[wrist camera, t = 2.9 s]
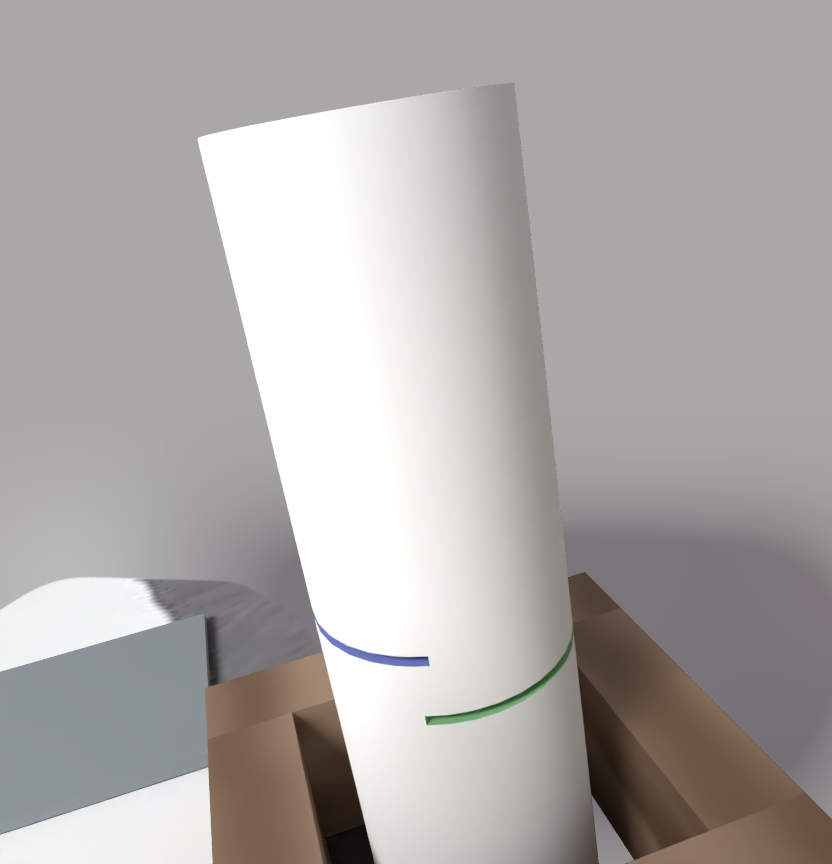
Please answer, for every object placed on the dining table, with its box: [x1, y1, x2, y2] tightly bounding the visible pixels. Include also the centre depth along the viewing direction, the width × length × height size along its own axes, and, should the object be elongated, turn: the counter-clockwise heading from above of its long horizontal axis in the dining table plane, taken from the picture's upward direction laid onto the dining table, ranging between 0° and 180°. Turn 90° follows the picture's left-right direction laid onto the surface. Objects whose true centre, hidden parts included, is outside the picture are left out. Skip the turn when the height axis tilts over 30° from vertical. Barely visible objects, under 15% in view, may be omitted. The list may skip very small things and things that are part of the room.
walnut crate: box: [205, 572, 832, 864], centre depth 26 cm, size 16×16×6 cm
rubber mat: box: [0, 614, 210, 834], centre depth 39 cm, size 12×12×1 cm
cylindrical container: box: [198, 83, 599, 864], centre depth 22 cm, size 7×7×25 cm
